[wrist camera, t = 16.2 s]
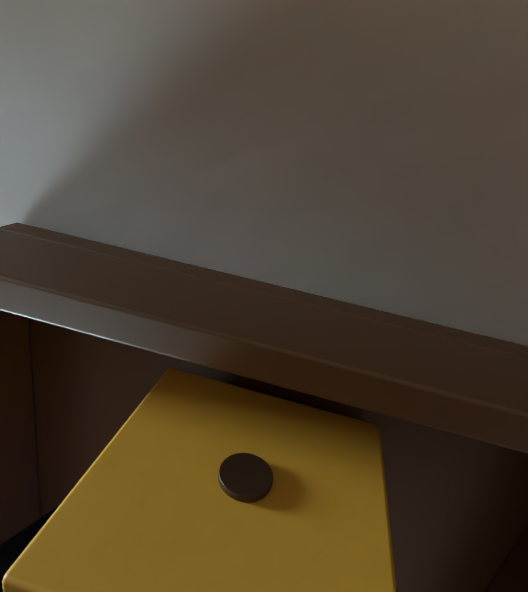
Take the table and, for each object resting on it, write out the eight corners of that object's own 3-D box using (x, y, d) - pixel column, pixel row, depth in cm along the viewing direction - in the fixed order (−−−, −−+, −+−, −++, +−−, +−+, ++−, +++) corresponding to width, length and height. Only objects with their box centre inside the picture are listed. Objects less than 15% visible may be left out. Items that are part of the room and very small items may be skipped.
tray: (395, 744, 14) (404, 870, 11) (43, 615, 15) (-13, 703, 13) (639, 372, 8) (766, 475, 5) (17, 221, 9) (-98, 250, 7)
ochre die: (326, 568, 10) (309, 897, 6) (153, 513, 10) (15, 775, 6) (382, 419, 8) (420, 739, 4) (168, 360, 8) (-12, 582, 4)
